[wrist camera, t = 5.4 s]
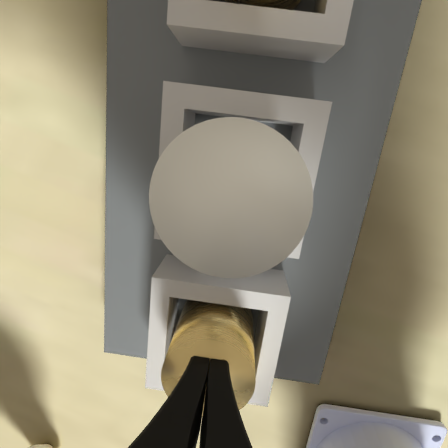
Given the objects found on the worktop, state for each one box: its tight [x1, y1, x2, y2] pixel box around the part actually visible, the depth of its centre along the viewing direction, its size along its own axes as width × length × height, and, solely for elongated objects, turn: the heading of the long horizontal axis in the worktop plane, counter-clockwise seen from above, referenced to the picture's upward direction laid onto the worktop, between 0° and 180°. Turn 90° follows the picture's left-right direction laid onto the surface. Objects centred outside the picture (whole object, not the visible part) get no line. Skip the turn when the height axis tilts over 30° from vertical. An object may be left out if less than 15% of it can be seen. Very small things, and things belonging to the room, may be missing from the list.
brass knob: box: [161, 300, 256, 417], centre depth 13 cm, size 4×4×4 cm
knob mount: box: [104, 0, 422, 407], centre depth 13 cm, size 22×12×4 cm, turn 173°
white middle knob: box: [149, 117, 313, 278], centre depth 9 cm, size 4×4×4 cm
